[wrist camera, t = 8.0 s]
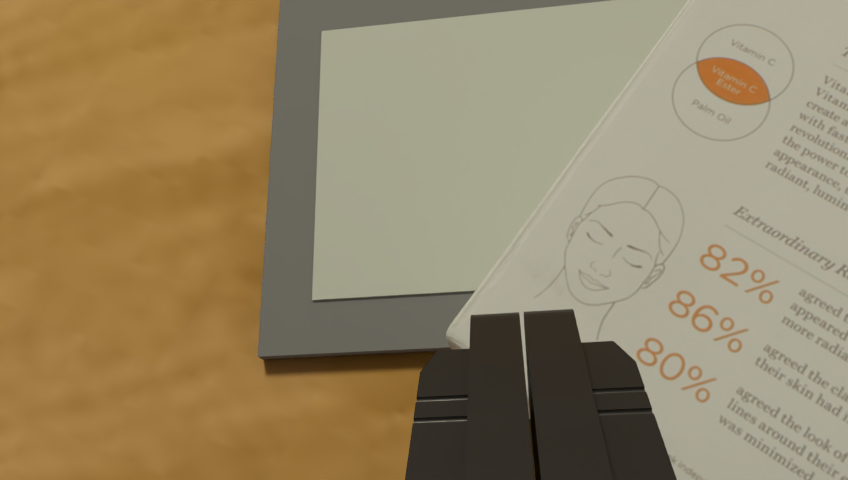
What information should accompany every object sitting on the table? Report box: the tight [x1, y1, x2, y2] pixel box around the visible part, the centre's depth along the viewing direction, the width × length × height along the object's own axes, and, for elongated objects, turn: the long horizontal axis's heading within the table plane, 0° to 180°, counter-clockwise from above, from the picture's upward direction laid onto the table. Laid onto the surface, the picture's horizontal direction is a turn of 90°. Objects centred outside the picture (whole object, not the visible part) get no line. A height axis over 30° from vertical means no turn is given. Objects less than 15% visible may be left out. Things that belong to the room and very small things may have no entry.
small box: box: [446, 0, 848, 480], centre depth 15 cm, size 8×6×10 cm
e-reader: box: [258, 0, 688, 359], centre depth 20 cm, size 16×12×1 cm
